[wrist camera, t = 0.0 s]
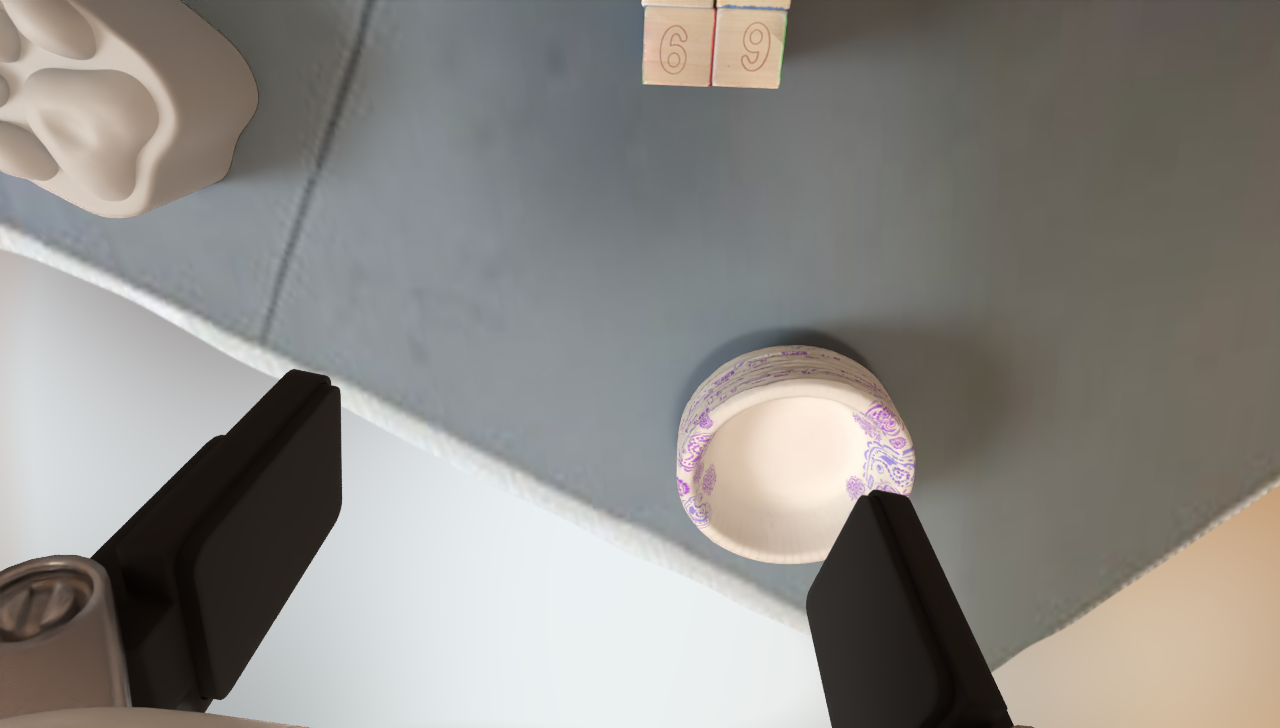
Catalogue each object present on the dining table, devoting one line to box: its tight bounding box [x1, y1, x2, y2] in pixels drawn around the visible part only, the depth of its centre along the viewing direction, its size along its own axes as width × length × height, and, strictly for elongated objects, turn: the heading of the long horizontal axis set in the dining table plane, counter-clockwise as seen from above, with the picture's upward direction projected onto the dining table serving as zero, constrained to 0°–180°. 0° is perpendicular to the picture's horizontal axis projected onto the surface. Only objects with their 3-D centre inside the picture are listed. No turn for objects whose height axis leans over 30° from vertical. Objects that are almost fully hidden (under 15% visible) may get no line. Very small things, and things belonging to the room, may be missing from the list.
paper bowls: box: [677, 345, 916, 564], centre depth 45 cm, size 15×15×8 cm
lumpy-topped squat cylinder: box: [0, 0, 258, 218], centre depth 34 cm, size 10×13×9 cm
